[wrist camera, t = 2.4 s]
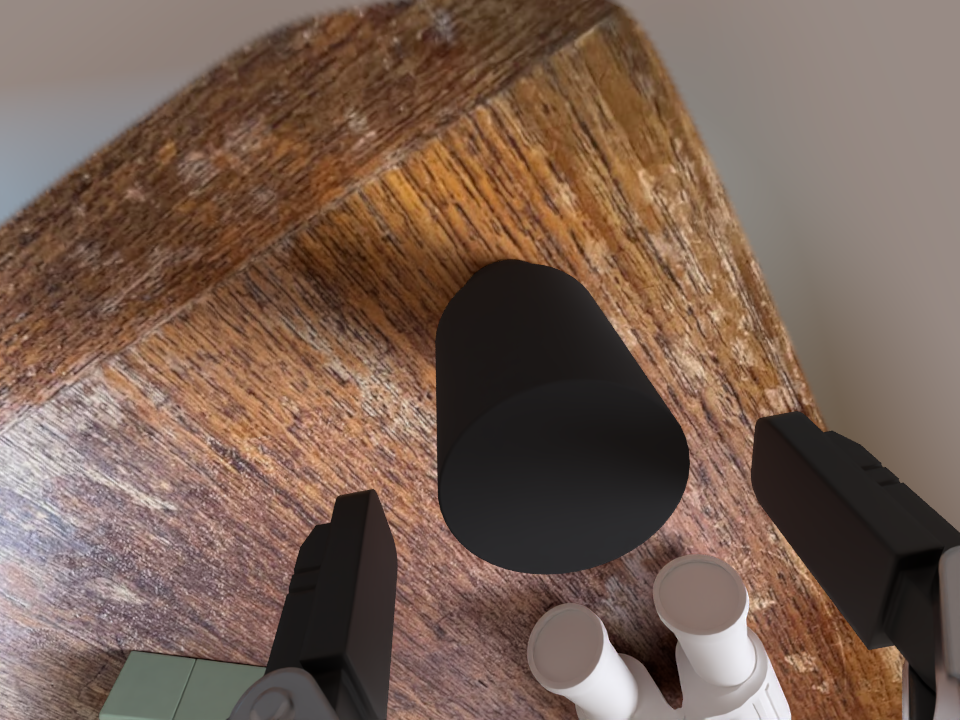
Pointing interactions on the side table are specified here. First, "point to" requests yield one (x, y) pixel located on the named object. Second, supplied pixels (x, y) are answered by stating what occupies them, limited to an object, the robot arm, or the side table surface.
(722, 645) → the binoculars
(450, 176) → the side table surface
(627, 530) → the stopper
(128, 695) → the green block with hole
